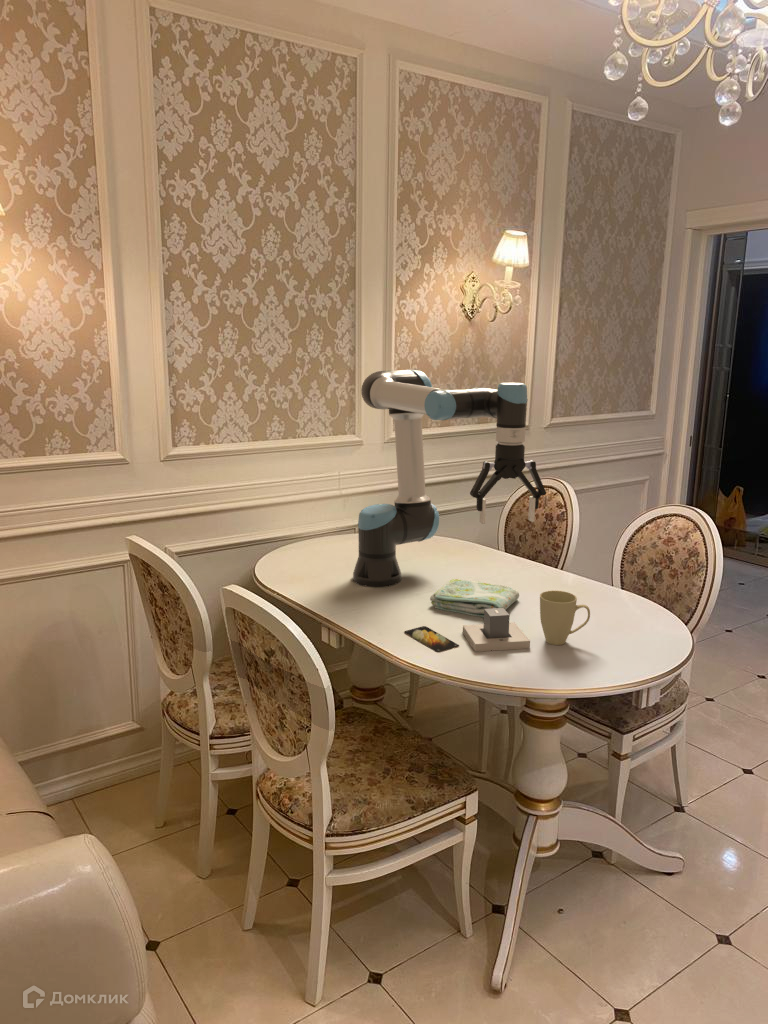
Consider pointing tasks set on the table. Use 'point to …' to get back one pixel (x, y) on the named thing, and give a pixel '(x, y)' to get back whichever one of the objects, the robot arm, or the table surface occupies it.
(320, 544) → the table surface
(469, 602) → the towel
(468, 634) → the socket plate
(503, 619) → the block
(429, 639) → the smartphone
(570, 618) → the mug
